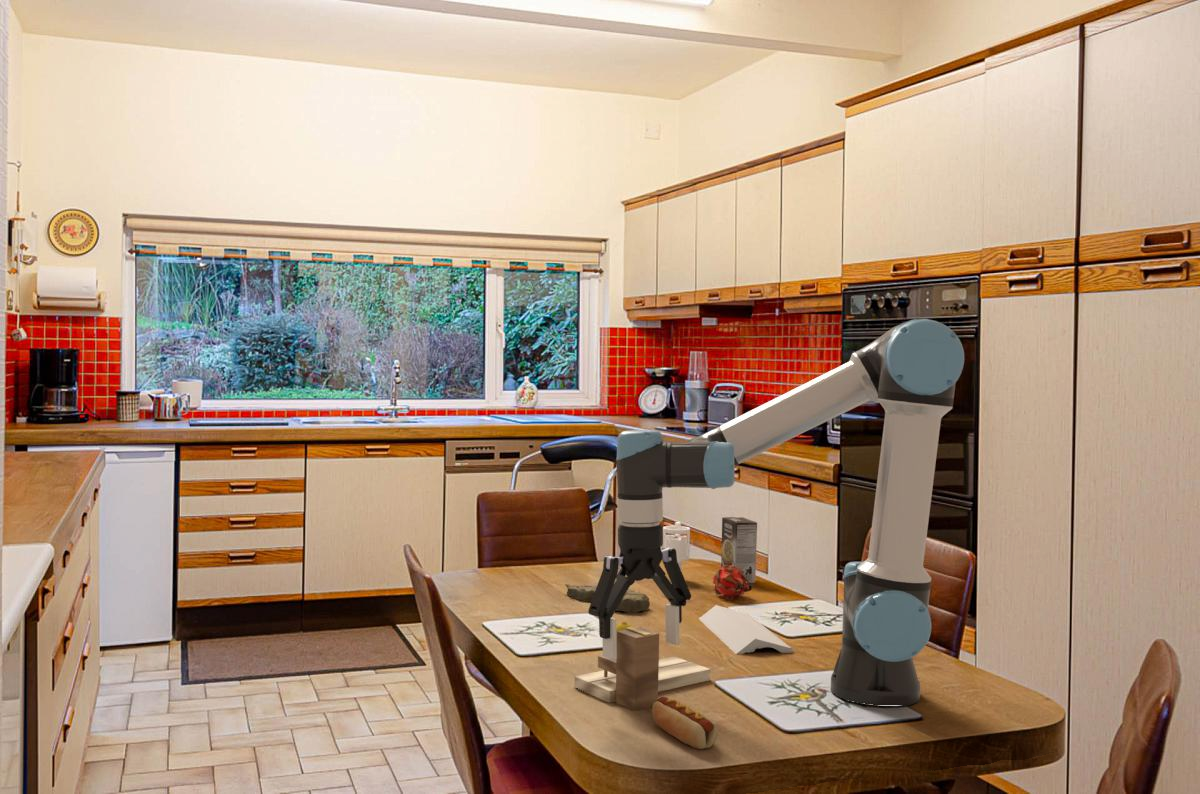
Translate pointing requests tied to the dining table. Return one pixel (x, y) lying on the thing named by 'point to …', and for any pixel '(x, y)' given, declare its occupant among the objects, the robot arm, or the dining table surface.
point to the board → (669, 677)
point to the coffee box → (739, 545)
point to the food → (685, 723)
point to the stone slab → (628, 604)
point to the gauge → (635, 667)
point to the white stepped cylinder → (678, 541)
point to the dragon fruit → (730, 582)
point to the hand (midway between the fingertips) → (641, 650)
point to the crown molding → (741, 631)
